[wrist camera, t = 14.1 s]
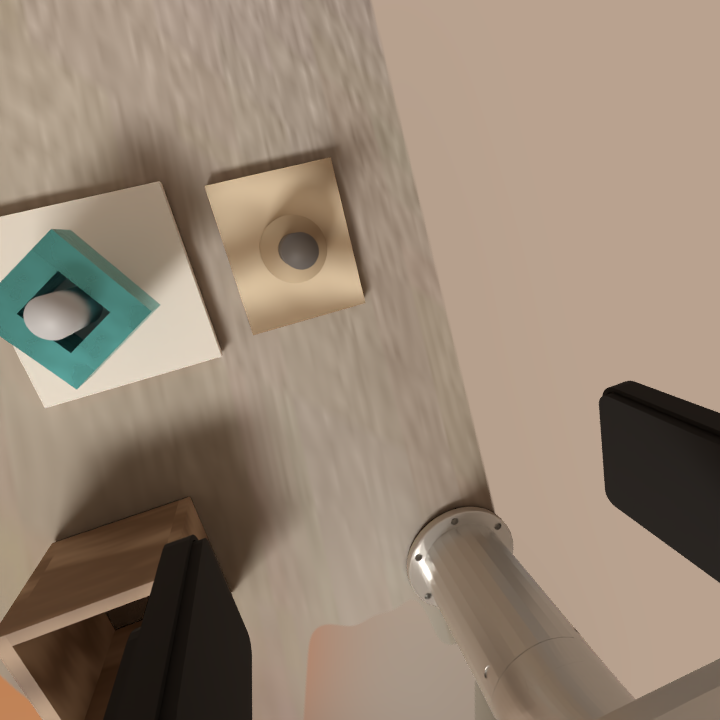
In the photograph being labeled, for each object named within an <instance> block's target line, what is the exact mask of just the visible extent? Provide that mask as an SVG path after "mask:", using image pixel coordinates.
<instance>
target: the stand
mask: <svg viewBox="0 0 720 720" xmlns="http://www.w3.org/2000/svg"><path fill="white" fill-rule="evenodd" d="M204 187H205V190H206V193H207V196H208V199H209V202H210V205H211V208H212V211H213V214H214V217H215V220H216V223H217V226H218V229H219V232H220V235H221V238H222V241H223V244H224V247H225V251H226V254H227V257H228V260H229V263H230V266H231V269H232V272H233V275H234V278H235V281H236V284H237V287H238V290H239V293H240V296H241V299H242V302H243V305H244V308H245V311H246V314H247V318H248V321H249V324H250V327H251V330H252V333H253V335H256V334H259V333H262V332H266V331H269V330H273V329H276V328H280V327H283V326H287V325H290V324H294V323H297V322H301V321H304V320H308V319H311V318H315V317H318V316H322V315H325V314H328V313H332V312H335V311H339V310H342V309H346V308H349V307H353V306H356V305H360V304H363V303H365V300H364V296H363V291H362V287H361V283H360V279H359V275H358V270H357V266H356V262H355V258H354V254H353V249H352V245H351V241H350V237H349V233H348V228H347V224H346V220H345V216H344V212H343V207H342V203H341V199H340V195H339V191H338V186H337V182H336V178H335V174H334V169H333V165H332V161H331V157H329V158H325V159H320V160H316V161H311V162H307V163H303V164H298V165H294V166H290V167H285V168H281V169H277V170H272V171H268V172H263V173H259V174H255V175H250V176H246V177H242V178H237V179H233V180H229V181H224V182H220V183H215V184H211V185H207V186H204Z"/></svg>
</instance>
